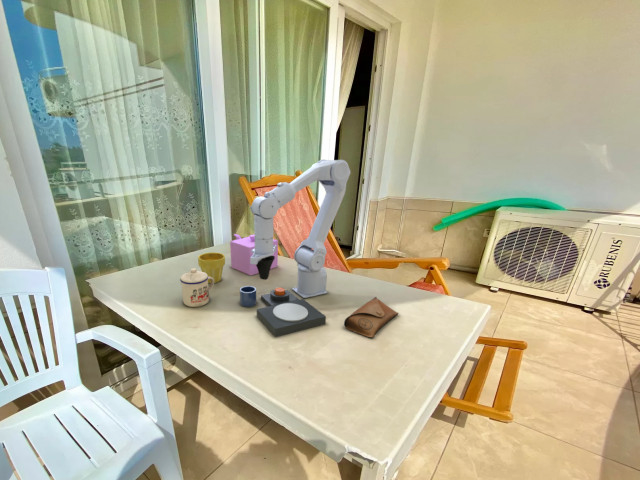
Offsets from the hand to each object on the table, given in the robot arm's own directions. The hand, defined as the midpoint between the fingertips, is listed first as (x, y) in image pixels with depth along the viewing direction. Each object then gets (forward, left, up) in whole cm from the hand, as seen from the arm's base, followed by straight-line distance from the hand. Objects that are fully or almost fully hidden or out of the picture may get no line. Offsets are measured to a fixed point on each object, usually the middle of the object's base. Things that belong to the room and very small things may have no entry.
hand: (264, 278), depth 97 cm
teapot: (-10, -32, -9) cm, 35 cm away
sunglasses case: (-23, +24, -9) cm, 34 cm away
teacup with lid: (+19, -10, -9) cm, 23 cm away
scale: (-2, +14, -8) cm, 16 cm away
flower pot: (+10, -26, -9) cm, 29 cm away
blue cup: (+5, -2, -8) cm, 10 cm away
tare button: (-5, +1, -6) cm, 8 cm away
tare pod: (-5, +2, -8) cm, 10 cm away
